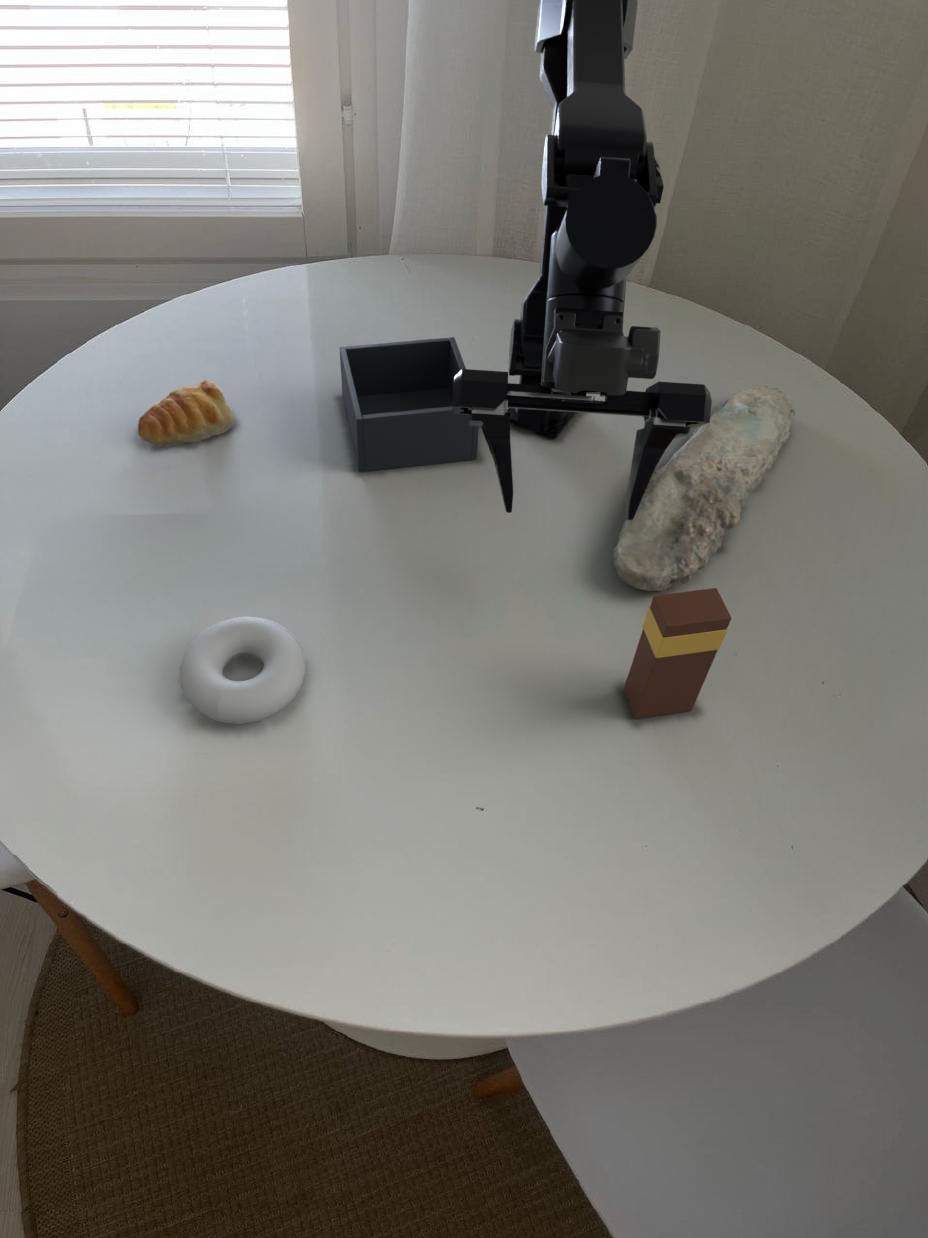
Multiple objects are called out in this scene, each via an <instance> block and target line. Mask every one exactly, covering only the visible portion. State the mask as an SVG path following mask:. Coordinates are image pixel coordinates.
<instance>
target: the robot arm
mask: <svg viewBox="0 0 928 1238" xmlns="http://www.w3.org/2000/svg"><path fill="white" fill-rule="evenodd" d="M638 3H639V0H539V2H538V9H537V14H536V25H535V36H534V53H536V54H540V63H539V64H540V65H539V80H540V84H541V85H542V88H543V89H544V92H545V94H546V97H547V99H548V101H549V104H550V105H551V108H552V121H551V133H550V134H546V135H545V140H544V147H543V156H542V167H541V194H542V205H543V206H544V215H543V217H544V218H543V228H542V240H541V251H540V264H539V273H538V274H539V275H538V277H537V279H536V280H535V282H534V283H533V284H532V286H531V288H530V289H529V291H528V292H527V294H526V295H525V297H524V298H523V300H522V302H521V304H520V305H521V306H520V317H519V319H518V318H514V319H513V322H512V326H511V329H510V337H509V338H510V339H509V350H508V352H509V353H508V371H502V370H501V371H500V370H499V371H498V370H486V369H485V370H484V369H471V368H470V369H468V368H466V369H462V370H461V371H460V372H458V373H457V374H456V375H455V376H454V384H453V401H452V411H453V413H455V414H465V415H469V426H474V427H479V429H481V431H482V435H483V436H484V439H485V442H486V444H487V447H488V449H489V452H490V455H491V458H492V460H493V464H494V467H495V471H496V477H497V480H498V485H499V488H500V493H501V496H502V501H503V506H504V509H505V513H508V514H509V513H510V514H512V512H513V504H514V503H513V502H514V481H513V464H512V463H513V462H512V445H511V423H512V424H515V425H518V426H519V427H523V428H525V429H528V430H530V431H533V432H535V433H538V434H540V435H543V436H545V437H548V438H551V439H557V438H559V436H560V435H561V434H562V433H563V432H564V430H565V429H566V428H567V427H568V425H569V424H570V423H571V421H572V420H573V419H574V418H575V417H576V415H577V414H578V413H581V414H583V413H584V414H597V415H613V416H629V417H641V418H643V421H644V423H643V424H644V425H643V428H640V429H637V430H636V433H635V440H634V446H633V453H632V459H631V465H630V472H629V477H628V478H629V479H628V485H627V491H626V497H625V521H626V520H633V519H634V516H635V514H636V512H637V509H638V507H639V505H640V502H641V500H642V497H643V495H644V493H645V490H646V488H647V486H648V483H649V481H650V479H651V477H652V476H653V475H654V473H655V471H656V470H655V469H656V468H657V466H658V464H659V462H660V460H661V459H662V457H663V455H664V454H665V452H666V451H667V449H668V447H669V446H670V445H671V443H672V442H673V441H674V440H675V439H677V438H682V437H686V436H689V435H690V432H691V429H695V428H698V427H699V426H702V425H704V424H708V423H710V418H711V415H712V414H711V412H712V403H713V400H712V395H711V392H710V391H709V389H708V388H707V386H706V384H702V383H688V382H673V381H671V382H670V381H657V382H655V383H653V384H652V385H650V386H648V387H646V388H645V391H637V390H627V389H628V383H629V378H631V379H644V380H646V379H647V380H653V379H654V378H655V377H656V375H657V372H658V366H659V365H658V364H659V360H660V359H659V358H660V346H661V331H662V330H660V329H659V328H658V327H656V326H655V327H654V326H653V327H652V326H640V325H638V326H637V325H632V326H631V327H629V330H628V336H627V335H626V336H625V335H624V334H625V333H624V316H625V315H624V313H625V303H626V302H625V301H626V291H627V278H628V277H629V275H630V274H631V272H632V271H633V269H634V268H635V267H636V265H637V264H638V263H639V261H640V260H641V259H642V258H643V256H644V255H645V253H646V252H647V251H648V250H649V248H650V247H651V244H652V242H653V240H654V239H655V234H656V229H657V225H658V224H657V223H658V216H657V214H656V209H655V207H656V206H657V204H659V205H660V204H661V201H662V196H663V192H664V188H665V187H664V181H663V177H662V173H661V168H660V163H659V160H658V158H657V157H656V156H655V147H654V143H653V141H647V138H648V137H647V136H648V135H647V127H646V120H645V119H646V118H645V112H644V110H643V109H642V107H641V106H640V105H638V104H637V103H636V102H635V101H634V100H633V99H631V98H630V96H628V95H627V91H626V73H625V71H626V67H625V60H626V59H628V57H629V55H630V54H631V52H632V51H633V48H634V41H635V40H634V39H635V31H636V24H637V23H636V21H637V14H638V5H639V4H638ZM514 376H519V382H518V383H513V382H509V377H514ZM594 395H599V397H603V398H604V400H597V399H596V400H595V398H596V396H594Z"/></svg>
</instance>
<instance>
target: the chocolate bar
mask: <svg viewBox="0 0 928 1238" xmlns="http://www.w3.org/2000/svg"><path fill="white" fill-rule="evenodd" d="M731 621H732V616H731V614H730V612H729V610H728V608H727V606H726V604H725V602H724V600H723V597H722V596H721V594H720V591H719V590H718V588H717V587H713V588H712V587H711V588H705V589H696V590H689V591H681V592H672V593H665V594H657V595H653V597H652V600H651V603H650V605H649V606H648V608H647V612H646V615H645V619H644V621H643V625H642V630H641V634H640V637H639V640H638V643H637V647H636V649H635V653H634V656H633V659H632V663H631V665H630V668H629V672H628V674H627V678H626V681H625V684H624V687H623V693H624V696H625V698H626V700H627V704H628V705H629V708H630V711H631V713H632V716H633V718H634V720H639V719H646V718H653V717H657V716H660V717H661V716H666V715H673V714H680V713H686V712H691V711H693V708H694V706H695V704H696V702H697V699H698V697H699V695H700V692H701V691H702V688H703V685H704V684H705V681H706V678H707V676H708V674H709V672H710V670H711V667H712V665H713V662H714V660H715V657H716V655H717V653H718V651H719V650H720V649H721V646H722V645H723V642H724V639H725V638H726V635H727V632H728V628H729V625H730V623H731Z"/></svg>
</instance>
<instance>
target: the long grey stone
mask: <svg viewBox="0 0 928 1238" xmlns="http://www.w3.org/2000/svg"><path fill="white" fill-rule="evenodd" d="M795 414H796V406H795V405H794V404H792V403H791V399H790V396H788V395H787V394H786V393H784V392H782V390H780V387H768V386H767V385H763V386H755V387H751V388H748V389H745V390H741V391H739V392H737V393H734V394H733V395H731V396H730V397H728V398H726V399H725V400H724V401H723V402H722V404H721V405H720V406H719V407H718V409H717V410H716V411H714V412H713V413H712V414H711V416H710V423H708V424H704V425H701V426H698V427H695V428H694V431H693V432H692V434H691V436H690V437H689V439H688V440H687V441H686V442H685V443H684V444H683V445H682V446H680V448H679V449H677V450H676V451H675V452H674V453H673V454H672V456H671V458H670V459H669V460H668V461H667V463H665V464H664V465H663V466H662V467H660V468H659V469H656V470H654V472H653V475H652V476H651V479H650V481H649V483H648V486H647V488H646V490H645V493H644V495H643V497H642V500H641V502H640V505H639V507H638V509H637V512H636V514H635V516H634V519H633V520H626V519H625V521H624V522H623V523H622V528H621V531H620V532H619V534H618V542H617V545H616V546H615V547H614V549H613V556H612V557H613V561H614V562H613V566H614V567H615V570H616V576H617V577H618V578H619V579H620V580H621V581H622V582H624V583H626V584H627V585H628V586H631V587H633V588H635V589H637V590H641V591H647V592H653V591H656V592H659V591H660V592H662V591H663V592H665V591H666V590H667V589H670V588H671V587H672V586H675V584H676V583H677V582H679V581H680V583H681V584H682V585H685V584H687V583H688V582H690V581H691V580H692V579H693V575H695V574H696V573H697V572H698V571H700V570H702V569H703V568H704V567H705V566H706V565H708V563H709V560H710V558H712V556H713V555H715V554H717V551H718V549H720V548H721V547H722V544H723V542H724V541H725V540H726V538H727V537H728V536H729V534H730V530H731V529H734V528H736V527H737V526H738V525H739V524H740V521H741V516H740V515H741V513H742V511H743V510H744V507H745V505H746V503H747V501H748V500H747V499H749V497H750V494H752V492H753V491H754V490H756V488H757V487H758V486H759V485H760V483H761V482H762V480H763V478H764V476H765V475H766V474H768V473H770V471H771V470H772V467H773V465H774V464H775V462H776V460H777V458H778V454H779V452H780V449H782V446H783V445H784V444H785V443H786V442H787V441H788V439H789V438H790V436H791V432H790V431H791V426H792V423H793V420H794V417H795Z"/></svg>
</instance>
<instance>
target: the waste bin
mask: <svg viewBox="0 0 928 1238" xmlns="http://www.w3.org/2000/svg"><path fill="white" fill-rule="evenodd" d="M338 348H339V360H340V361H339V362H340V363H339V364H340V377H341V394H342V402H343V407H344V411H345V415H346V420H347V425H348V429H349V433H350V438H351V443H352V446H353V452H354V455H355V460H356V465H357V469H358V473H363V472H364V473H365V472H372V471H373V472H375V471H382V470H392V469H400V468H402V469H403V468H410V467H419V466H429V465H435V464H447V463H457V462H465V461H474V460H475V461H476V460H477V459H478V458H477V457H478V446H479V434H480V433H479V432H480V427H474V426H469V415H465V414H455V413H453V411H452V401H453V384H454V376H455V375H456V374H457V373H458V372H460V371H461V370H462V369H467V367H466V365H465V362H464V359H463V357H462V354H461V352H460V349H459V346H458V343H457V341H456V338H455V337H454V336H451V337H439V338H428V339H415V340H403V341H392V342H391V341H389V342H380V343H369V344H367V343H366V344H356V345H345V346H339V347H338Z"/></svg>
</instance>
